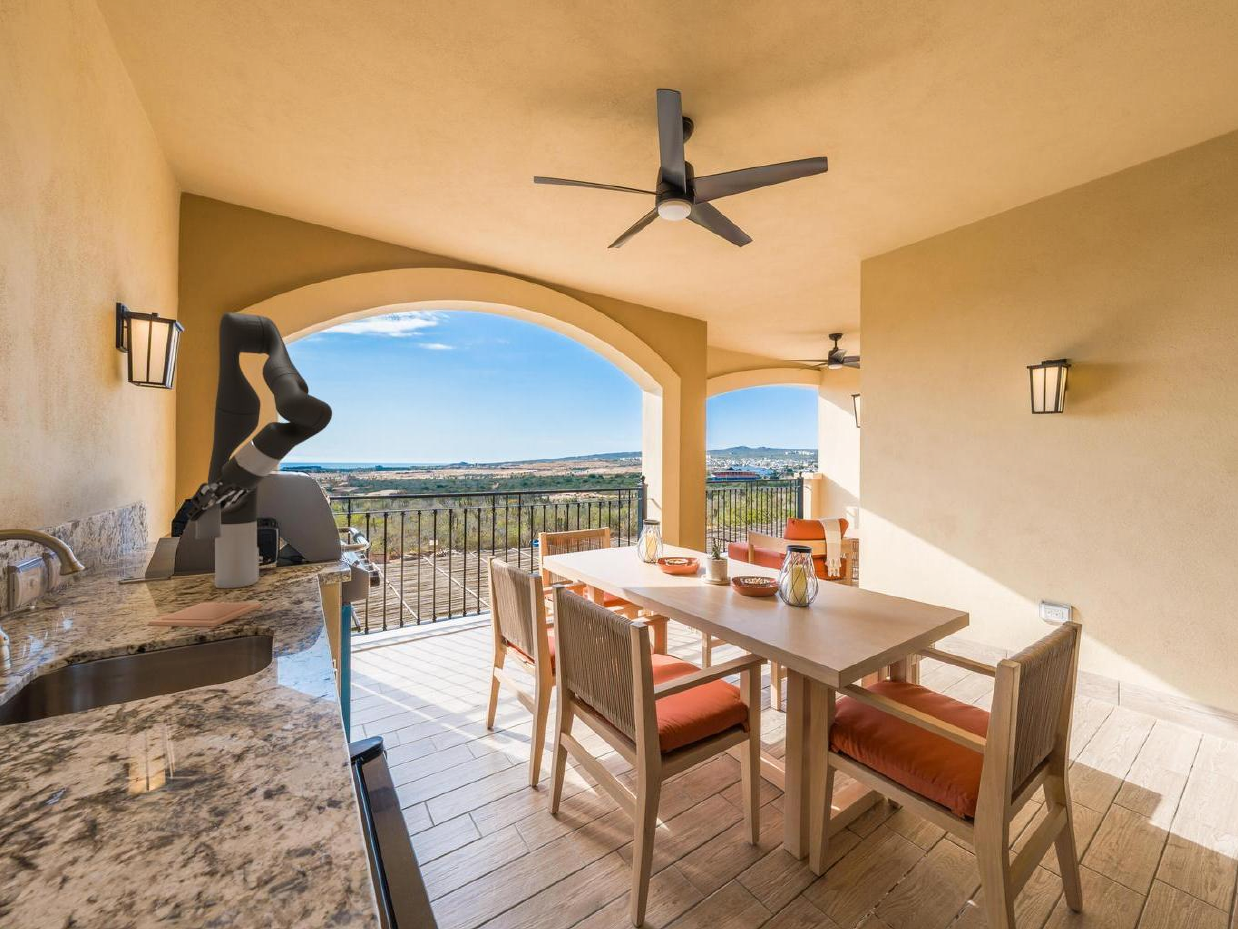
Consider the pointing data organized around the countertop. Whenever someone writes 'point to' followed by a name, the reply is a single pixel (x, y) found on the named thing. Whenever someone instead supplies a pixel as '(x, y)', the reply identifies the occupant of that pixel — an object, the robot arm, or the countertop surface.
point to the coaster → (205, 614)
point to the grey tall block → (209, 522)
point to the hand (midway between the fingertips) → (199, 516)
